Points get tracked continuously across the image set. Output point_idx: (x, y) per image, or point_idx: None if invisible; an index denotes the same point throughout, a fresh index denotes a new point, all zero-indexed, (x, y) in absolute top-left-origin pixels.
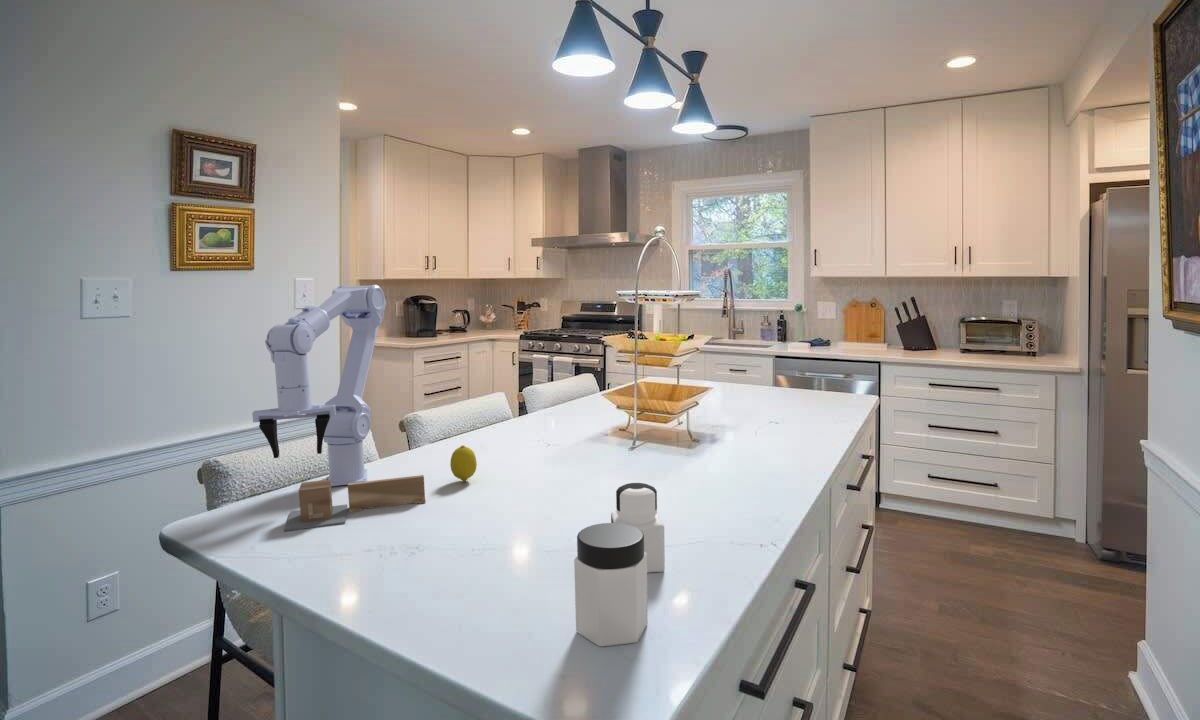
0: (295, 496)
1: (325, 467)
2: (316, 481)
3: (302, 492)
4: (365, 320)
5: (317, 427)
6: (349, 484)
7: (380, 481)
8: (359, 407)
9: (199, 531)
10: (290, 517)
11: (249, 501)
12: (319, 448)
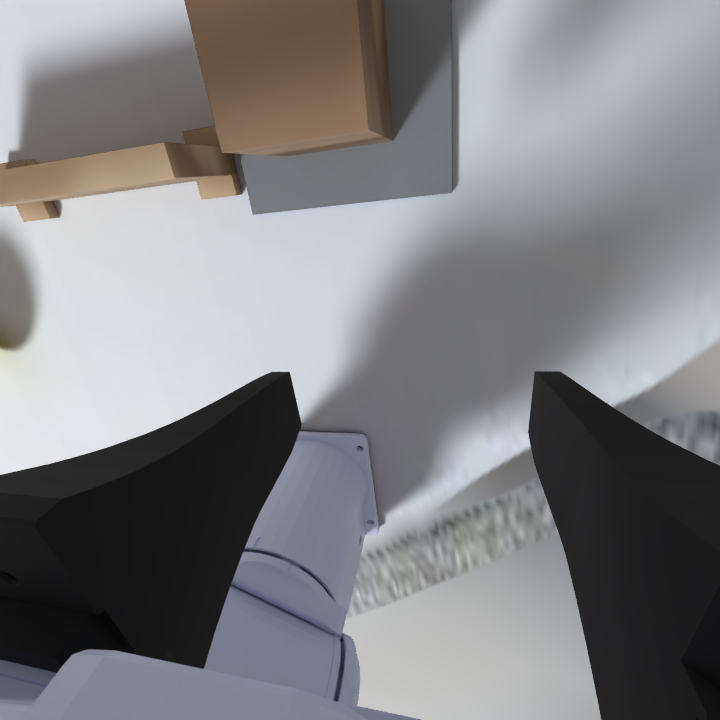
0: (457, 386)
1: (404, 593)
2: (286, 127)
3: None
4: None
5: (127, 466)
6: (159, 153)
7: (41, 163)
8: None
9: None
10: (442, 96)
11: (620, 390)
12: (256, 381)
